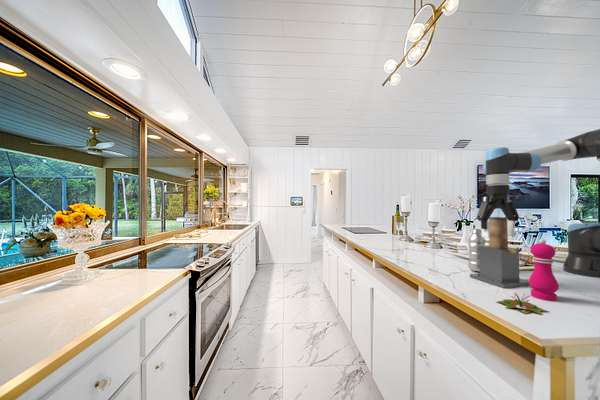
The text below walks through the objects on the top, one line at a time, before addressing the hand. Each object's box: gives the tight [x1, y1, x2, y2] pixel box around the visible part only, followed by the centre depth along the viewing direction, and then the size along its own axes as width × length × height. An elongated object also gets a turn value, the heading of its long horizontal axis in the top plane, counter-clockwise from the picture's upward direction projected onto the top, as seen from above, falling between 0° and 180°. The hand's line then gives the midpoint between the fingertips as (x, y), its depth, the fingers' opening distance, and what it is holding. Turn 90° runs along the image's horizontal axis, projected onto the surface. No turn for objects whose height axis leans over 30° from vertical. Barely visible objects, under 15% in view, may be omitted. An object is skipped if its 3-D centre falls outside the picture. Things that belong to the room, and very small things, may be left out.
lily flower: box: [495, 291, 550, 316], centre depth 74 cm, size 12×12×5 cm
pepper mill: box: [528, 238, 560, 302], centre depth 82 cm, size 7×7×20 cm
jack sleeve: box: [469, 245, 531, 289], centre depth 99 cm, size 14×14×14 cm
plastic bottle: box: [467, 228, 486, 273], centre depth 114 cm, size 6×7×20 cm
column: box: [488, 216, 509, 249], centre depth 99 cm, size 4×4×25 cm
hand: (498, 236), depth 99 cm, fingers open, 12 cm apart
